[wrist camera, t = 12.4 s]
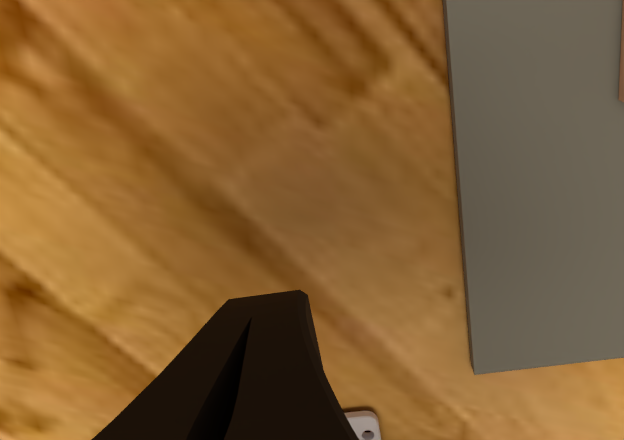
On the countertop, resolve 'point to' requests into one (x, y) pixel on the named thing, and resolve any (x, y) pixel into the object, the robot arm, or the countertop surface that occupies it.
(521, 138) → the mat
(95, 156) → the countertop surface
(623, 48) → the tile
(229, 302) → the robot arm
